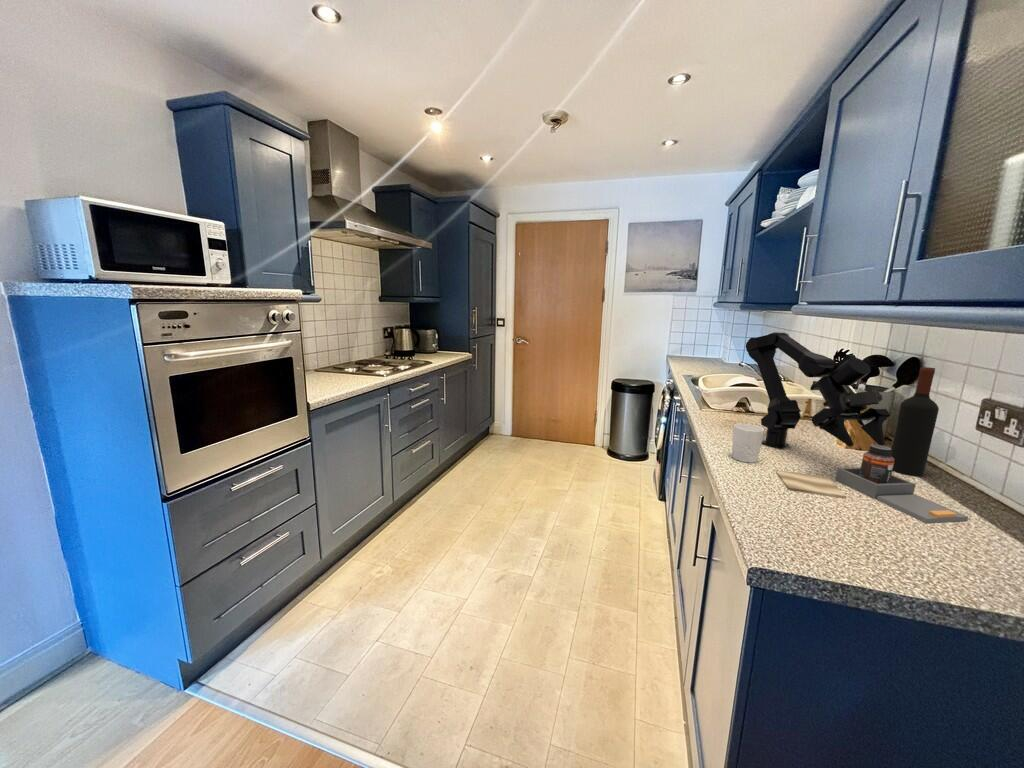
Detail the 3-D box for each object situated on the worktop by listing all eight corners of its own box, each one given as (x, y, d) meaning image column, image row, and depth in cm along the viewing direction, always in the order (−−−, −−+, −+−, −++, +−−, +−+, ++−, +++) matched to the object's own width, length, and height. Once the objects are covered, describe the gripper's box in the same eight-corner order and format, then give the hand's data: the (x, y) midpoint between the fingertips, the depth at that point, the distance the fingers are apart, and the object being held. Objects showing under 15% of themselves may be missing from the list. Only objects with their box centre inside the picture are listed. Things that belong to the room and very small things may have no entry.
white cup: (751, 454, 126) (756, 424, 124) (764, 464, 118) (769, 431, 116) (725, 453, 126) (729, 422, 125) (736, 463, 119) (741, 430, 117)
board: (775, 471, 113) (775, 469, 113) (826, 479, 109) (827, 476, 109) (788, 489, 102) (788, 487, 102) (845, 498, 98) (846, 496, 98)
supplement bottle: (893, 495, 100) (903, 452, 98) (866, 492, 101) (875, 449, 99) (877, 484, 106) (886, 443, 104) (851, 482, 107) (860, 441, 105)
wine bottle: (892, 472, 114) (915, 368, 108) (883, 463, 121) (904, 364, 115) (928, 478, 111) (953, 370, 105) (917, 469, 117) (940, 367, 112)
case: (835, 480, 108) (837, 468, 107) (870, 479, 109) (872, 467, 109) (925, 522, 87) (929, 508, 86) (967, 520, 88) (971, 506, 88)
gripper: (827, 378, 106) (860, 431, 97) (889, 378, 108) (927, 430, 99) (798, 401, 115) (826, 451, 106) (856, 400, 117) (888, 449, 109)
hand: (867, 445), depth 105 cm, fingers open, 9 cm apart
